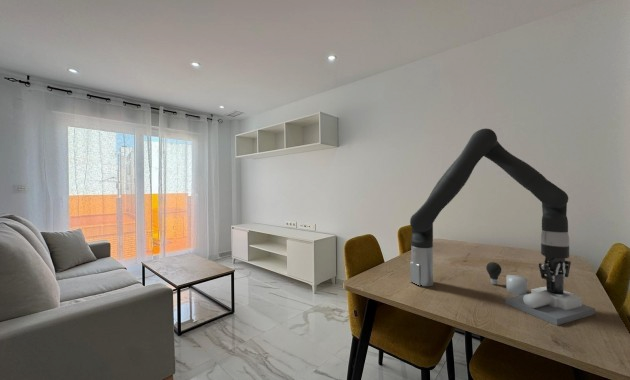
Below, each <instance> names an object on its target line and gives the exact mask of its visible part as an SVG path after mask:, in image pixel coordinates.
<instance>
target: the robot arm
mask: <svg viewBox="0 0 630 380" xmlns="http://www.w3.org/2000/svg"><path fill="white" fill-rule="evenodd" d="M483 157H485V158H487V159H488V160H490V161H491V162H493V163H494V164H495V165H497V166H498V167H500V168H501V169H502V170H503V171H504V172H505V173H506V174H507V175H509V176H510V177H511V178H512V179H513V180H514V181H516V182H517V183H518V184H519V185H521V186H522V187H523V188H525V189H526V190H527V191H529V192H530V193H531V194H532V195H533V196H534V197H535V198H536V199H538V200H539V201H540V202H541V207H542V209H541V210H542V216H541V235H540V254H541V255H542V256H544V257H545V259H544V262H543V263H542V262H540V263H538V268H539V271H540V277H541V279H543V280H545V281H546V283H545V285H546V288H547V290H548V291H551V292H554V291H555V282H554V281H555V277H556V276H557V275H558V273H562V274H564V281H565V280H566V278H568V277H569V275H570V274H569V273H570V270H571V265H572V262H571V261H570V260H566V259H569V258H570V236H569V220H568V217H567V216H568V215H567V211H568V210H567V209H568V202H569V196H568V194H567V192H566V191H565V190H563V189H562V188H561V187H558V186H557V185H556V184H555V183H553V182H552V181H550V180H548V178H546V177H545V176H544V175H543V174H542V173H540V172H539V171H538V170H537V169H535V168H534V167H533V166H531V165H530V164H529V163H527V162H525V160H522V159H520V158H519V157H517V156H515V155H514V154H512V153H511V152H509V151H508V150H507V149H506V148H504V147H503V146H502V144H501V143H500V142H499V141H498V136H497V134H496V132H495V131H494V130H493V129H491V128H481V129H479V130H477V131H475V132H473V134H472V135H471V137H470V138H469V139H468V142H467V144H466V145H465V147H463V150H462V152H461V153H460V154H459V155H458V157H457V158H456V159H455V160H454V162H453V163H452V164H451V165H450V166H449V167H448V168H447V170H446V171H445V172H444V173H443V175H442V176H441V177H440V179H439V180H438V181H437V183H436V184H435V186H434V188H433V189H432V191H431V193H430V194H429V195H428V197H427V199H426V201H425V202H424V203H423V204H422V205H421V206H420V208H419V209H418V210H417V211H416V212H414V213H413V214H412V216H410V220H409V223H410V227H411V239H410V244H411V245H410V246H411V248H410V249H411V252H410V253H411V254H410V255H411V256H410V257H411V261H410V262H409V282H410V281H412V282H413V283H415V284H417V285H419V286H418V287H431V286H434V243H433V242H434V222H435V221H436V219H437V217H438V216H439V215H440V213H441V212H442V210H443V209H444V208H445V207H446V206H448V205H449V203H451V202H452V201H453V199H454V198H455V197H456V196H458V194H459V192H461V190H462V189H463V188H464V187H465V185H466V183H467V182H468V180H469V178H470V177H471V175H472V174H473V171H474V169H475V167H476V166H477V165H478V163H479V162H480V161H481V160H482V158H483ZM550 271H553V273H552V272H550ZM551 275H552V278H551ZM413 283H412V284H413ZM415 284H414V285H415ZM417 285H416V286H417ZM420 285H422V286H420Z"/></svg>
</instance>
